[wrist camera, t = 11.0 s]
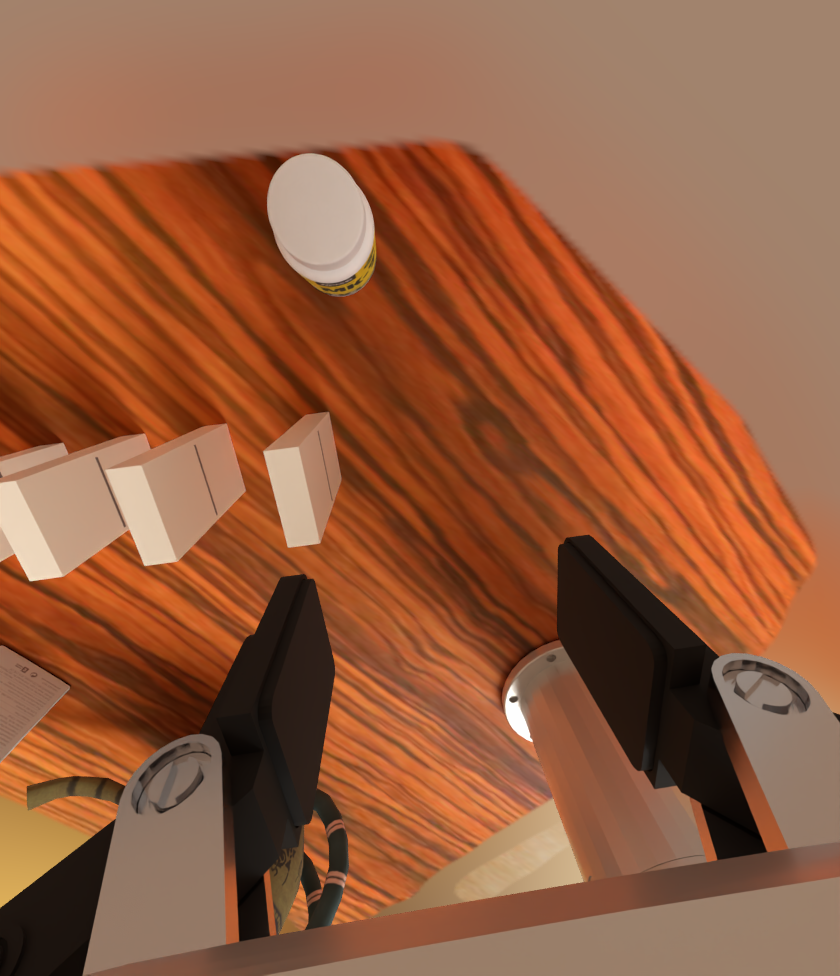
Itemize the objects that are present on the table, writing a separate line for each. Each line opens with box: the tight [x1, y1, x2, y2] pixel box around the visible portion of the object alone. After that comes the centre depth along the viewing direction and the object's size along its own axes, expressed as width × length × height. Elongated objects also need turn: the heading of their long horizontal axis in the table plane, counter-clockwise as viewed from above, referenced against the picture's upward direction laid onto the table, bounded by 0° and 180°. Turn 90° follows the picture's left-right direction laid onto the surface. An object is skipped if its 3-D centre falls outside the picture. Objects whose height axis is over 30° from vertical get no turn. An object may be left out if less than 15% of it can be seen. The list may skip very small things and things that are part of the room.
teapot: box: [27, 776, 349, 935], centre depth 26 cm, size 12×25×23 cm, turn 75°
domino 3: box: [105, 423, 246, 566], centre depth 23 cm, size 2×5×10 cm, turn 6°
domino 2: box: [0, 433, 151, 581], centre depth 23 cm, size 2×5×10 cm, turn 7°
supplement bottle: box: [267, 153, 376, 296], centre depth 20 cm, size 5×5×8 cm
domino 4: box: [263, 412, 342, 548], centre depth 23 cm, size 2×5×10 cm, turn 7°
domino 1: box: [0, 443, 68, 562], centre depth 23 cm, size 2×5×10 cm, turn 6°
